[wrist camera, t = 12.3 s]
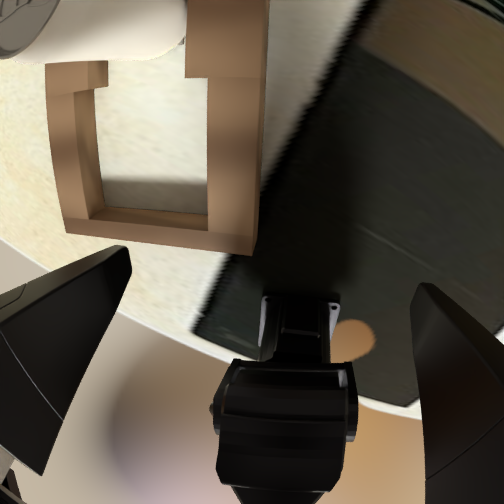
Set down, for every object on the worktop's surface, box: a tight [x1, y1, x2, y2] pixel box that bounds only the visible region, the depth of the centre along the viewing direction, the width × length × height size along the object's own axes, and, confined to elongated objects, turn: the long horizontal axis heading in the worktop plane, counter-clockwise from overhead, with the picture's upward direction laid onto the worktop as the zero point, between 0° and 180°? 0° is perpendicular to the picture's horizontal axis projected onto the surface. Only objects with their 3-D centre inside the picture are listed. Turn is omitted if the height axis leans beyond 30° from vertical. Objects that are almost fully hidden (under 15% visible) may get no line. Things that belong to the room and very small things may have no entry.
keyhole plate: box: [45, 0, 270, 256], centre depth 17 cm, size 22×16×2 cm
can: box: [0, 0, 188, 65], centre depth 10 cm, size 6×6×12 cm
